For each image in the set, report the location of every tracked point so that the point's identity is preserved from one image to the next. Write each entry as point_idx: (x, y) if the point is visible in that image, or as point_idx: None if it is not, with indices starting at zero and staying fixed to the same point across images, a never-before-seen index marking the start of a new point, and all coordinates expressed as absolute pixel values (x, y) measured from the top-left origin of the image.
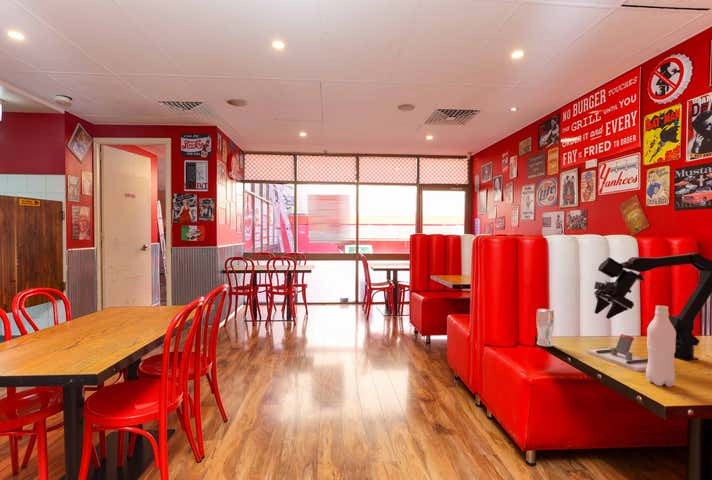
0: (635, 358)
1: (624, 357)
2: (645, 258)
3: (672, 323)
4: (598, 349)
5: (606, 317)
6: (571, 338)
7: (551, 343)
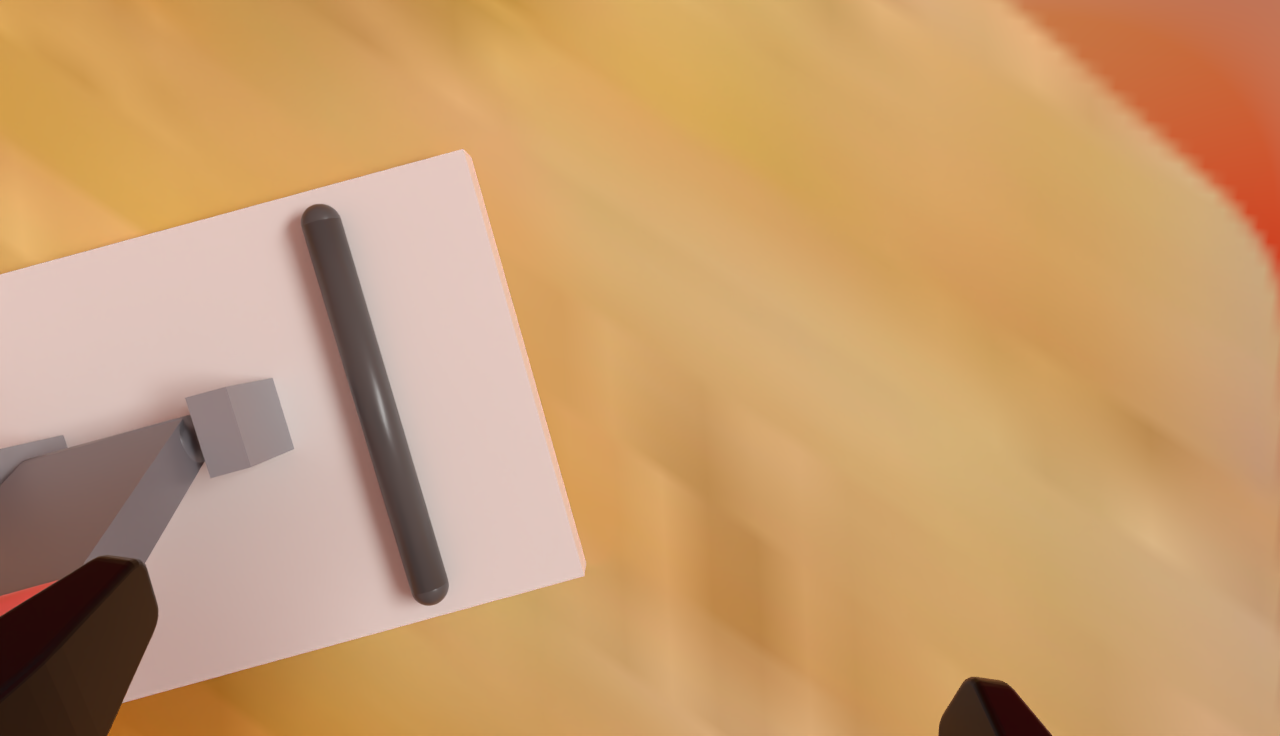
0: None
1: None
2: None
3: None
4: (501, 352)
5: (107, 560)
6: (1191, 380)
7: None
